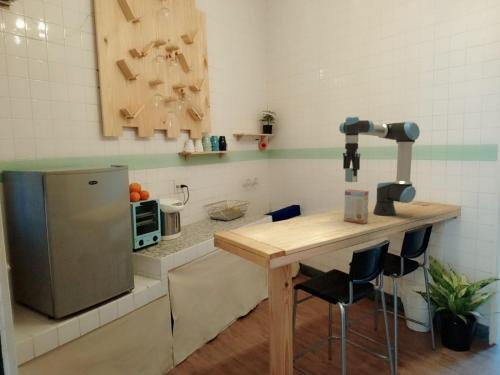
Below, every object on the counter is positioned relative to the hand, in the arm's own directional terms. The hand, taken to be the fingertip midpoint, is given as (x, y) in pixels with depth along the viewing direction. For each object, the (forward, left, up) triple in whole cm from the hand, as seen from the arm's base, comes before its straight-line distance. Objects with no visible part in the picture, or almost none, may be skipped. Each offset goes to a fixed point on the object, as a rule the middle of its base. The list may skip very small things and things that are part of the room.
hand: (350, 181), depth 205 cm
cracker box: (-10, -7, -28) cm, 31 cm away
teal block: (0, 0, 0) cm, 0 cm away
